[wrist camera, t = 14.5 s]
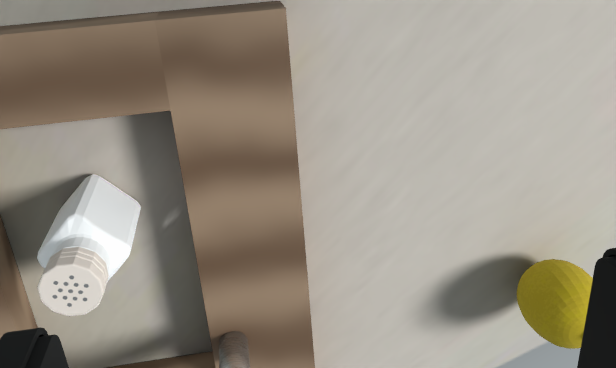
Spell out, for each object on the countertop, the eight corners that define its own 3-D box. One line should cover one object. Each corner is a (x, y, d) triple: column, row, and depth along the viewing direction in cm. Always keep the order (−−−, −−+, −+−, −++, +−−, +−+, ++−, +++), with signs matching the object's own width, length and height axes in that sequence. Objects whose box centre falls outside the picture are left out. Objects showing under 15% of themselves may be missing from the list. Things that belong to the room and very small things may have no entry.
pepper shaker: (56, 211, 38) (12, 298, 30) (93, 167, 37) (58, 243, 29) (109, 244, 40) (81, 335, 31) (145, 202, 39) (127, 284, 30)
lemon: (502, 308, 47) (554, 379, 40) (497, 251, 45) (552, 316, 38) (567, 290, 47) (631, 357, 40) (566, 232, 45) (634, 293, 38)
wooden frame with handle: (-197, 44, 32) (-234, 56, 29) (279, 0, 35) (285, 8, 32) (-26, 440, 45) (-41, 474, 42) (312, 385, 48) (318, 414, 45)
